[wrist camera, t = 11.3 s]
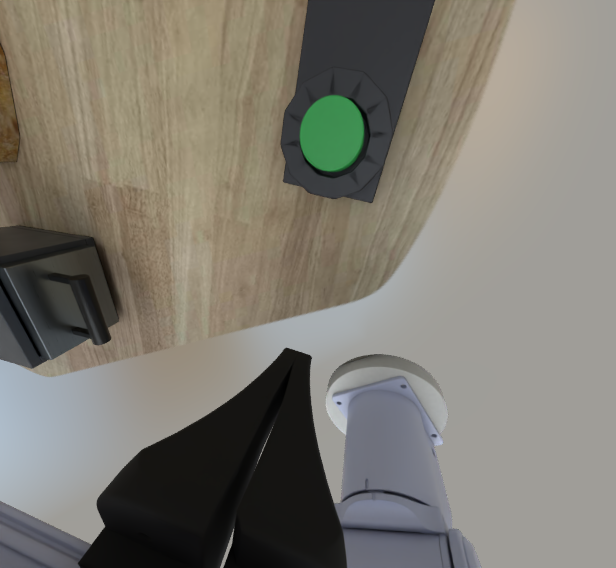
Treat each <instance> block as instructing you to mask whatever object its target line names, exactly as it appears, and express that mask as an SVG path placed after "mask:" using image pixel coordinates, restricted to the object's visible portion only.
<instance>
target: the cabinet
mask: <svg viewBox="0 0 616 568" xmlns="http://www.w3.org/2000/svg"><path fill="white" fill-rule="evenodd" d="M84 245H89V246H95V243H94V240H93V238H92V237H86V236H80V235H74V234H68V233H61V232H55V231H49V230H43V229H36V228H30V227H24V226H18V225H17V226H10V227H1V228H0V265H1V264H5V263H10V262H14V261H18V260H23V259H27V258H31V257H36V256H40V255H44V254H49V253H53V252H57V251H62V250H66V249H71V248H75V247H79V246H84ZM95 249H96V247H95ZM96 252H97V250H96ZM97 255H98V253H97ZM98 258H99V256H98ZM99 261H100V259H99ZM100 264H101V262H100ZM101 267H102V265H101ZM102 270H103V268H102ZM103 273H104V272H103ZM104 277H105V275H104ZM105 280H106V278H105ZM106 283H107V281H106ZM107 286H108V284H107ZM108 289H109V287H108ZM109 292H110V290H109ZM110 295H111V293H110ZM111 298H112V297H111ZM112 301H113V300H112ZM113 305H114V303H113ZM114 308H115V306H114ZM115 311H116V309H115ZM116 314H117V312H116ZM117 317H118V315H117ZM118 320H119V318H118ZM0 359H1V360H4V361H8V362H11V363H15V364H18V365H21V366H25V367H28V368H34V367H36V366H38V365H40V364H42V363H44V362H45V361H47V360H49V359H46V358H42V356H41V355H40V353H39V351H38V349H37V347H36V345H35V346H33V345H32V343H31V341H30V339H29V337H28V336H27V334H26V332H25V330H24V328H23V326H22V324H21V323H20V321H19V319H18V317H17V315H16V313H15V311H14V310H13V308H12V306H11V304H10V302H9V300H8V298H7V297H6V295H5V293H4V291H3V289H2V287H1V286H0Z"/></svg>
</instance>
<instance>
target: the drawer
mask: <svg viewBox="0 0 616 568" xmlns="http://www.w3.org/2000/svg"><path fill="white" fill-rule="evenodd" d="M0 286H1V287H2V289H3V291H4V293H5V295H6V297H7V298H8V300H9V302H10V304H11V306H12V308H13V310H14V311H15V313H16V315H17V317H18V319H19V321H20V323H21V324H22V326H23V328H24V330H25V332H26V334H27V336H28V337H29V339H30V341H31V343H32V345H33V346H35V345H36V347H37V349H38V351H39V353H40V355H41V356H42V358H46V359H49V360H52V359H54V358H56V357H58V356H59V355H61V354H63V353H65V352H66V351H68V350H70V349H72V348H73V347H75V346H77V345H79V344H80V343H82V342H84V341H86V340H87V339H89V338H90V339H92V342H93V344H94V345H102V344H105V343H107V342H109V341H110V340H111V336H110V333H109V330H108V327H110V326H112V325H114V324H115V323H117V322H119V320H118V317H117V314H116V311H115V308H114V305H113V301H112V298H111V295H110V292H109V289H108V286H107V283H106V280H105V277H104V273H103V270H102V267H101V264H100V261H99V258H98V255H97V252H96V249H95V246H89V245H84V246H79V247H75V248H71V249H66V250H62V251H57V252H53V253H49V254H44V255H40V256H36V257H31V258H27V259H23V260H18V261H14V262H10V263H5V264H1V265H0Z"/></svg>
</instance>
